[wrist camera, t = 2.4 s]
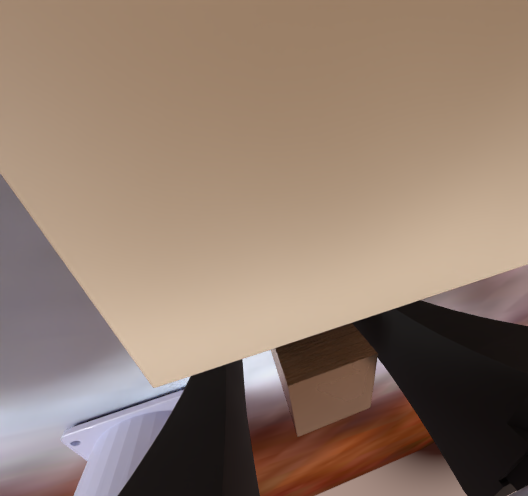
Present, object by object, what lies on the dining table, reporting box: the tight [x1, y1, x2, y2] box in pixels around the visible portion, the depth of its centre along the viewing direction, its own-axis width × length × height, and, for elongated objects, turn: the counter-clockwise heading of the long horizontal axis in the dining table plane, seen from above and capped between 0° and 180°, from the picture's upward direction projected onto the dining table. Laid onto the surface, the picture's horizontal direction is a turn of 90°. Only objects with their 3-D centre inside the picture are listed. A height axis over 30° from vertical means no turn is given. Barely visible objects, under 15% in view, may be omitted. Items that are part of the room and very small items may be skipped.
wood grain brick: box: [271, 323, 378, 437], centre depth 7 cm, size 12×3×6 cm, turn 10°
